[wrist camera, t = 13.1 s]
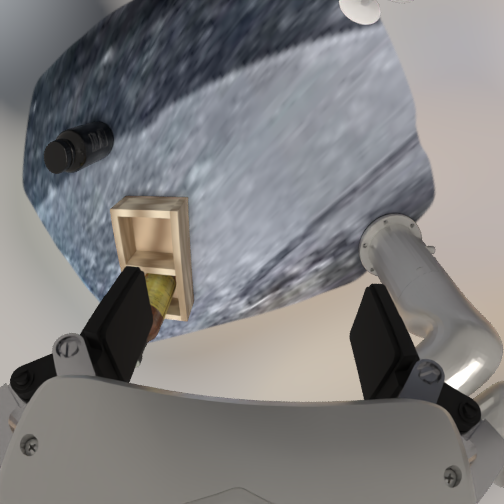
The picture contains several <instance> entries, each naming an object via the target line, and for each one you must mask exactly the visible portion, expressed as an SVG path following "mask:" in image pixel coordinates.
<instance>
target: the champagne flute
mask: <svg viewBox="0 0 504 504" xmlns="http://www.w3.org/2000/svg"><path fill="white" fill-rule="evenodd" d="M390 1H393V2H397V3H408V2H411V1H413V0H390ZM339 4H340V8H341V10H342V12H343V13H344V14H345V15H346V16H347V17H348V18H349V19H350V20H352V21H354V22H356V23H359V24H364V25H367V24H373V23H375V22H376V21H377V20H378V19H379V17H380V14H381V10H380V6H379V4H378V2H377V1H376V0H339Z"/></svg>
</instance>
